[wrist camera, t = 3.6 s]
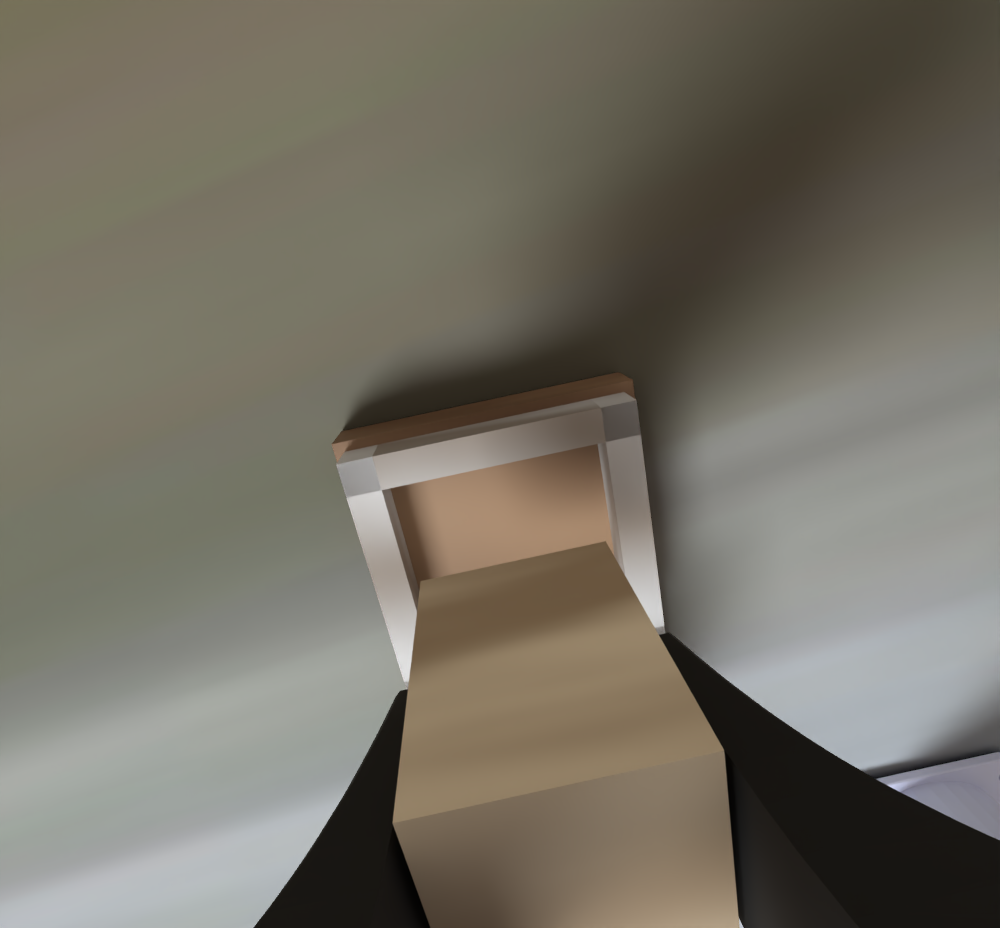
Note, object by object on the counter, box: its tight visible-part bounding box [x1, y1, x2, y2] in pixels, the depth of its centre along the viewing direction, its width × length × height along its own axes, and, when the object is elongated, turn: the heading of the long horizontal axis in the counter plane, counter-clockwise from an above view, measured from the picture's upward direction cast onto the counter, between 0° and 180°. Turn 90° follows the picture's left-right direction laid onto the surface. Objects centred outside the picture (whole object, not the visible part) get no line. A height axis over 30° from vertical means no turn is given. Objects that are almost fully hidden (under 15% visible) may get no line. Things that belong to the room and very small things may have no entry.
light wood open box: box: [332, 372, 665, 689], centre depth 17 cm, size 16×9×7 cm, turn 11°
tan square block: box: [393, 541, 739, 928], centre depth 10 cm, size 5×4×6 cm
